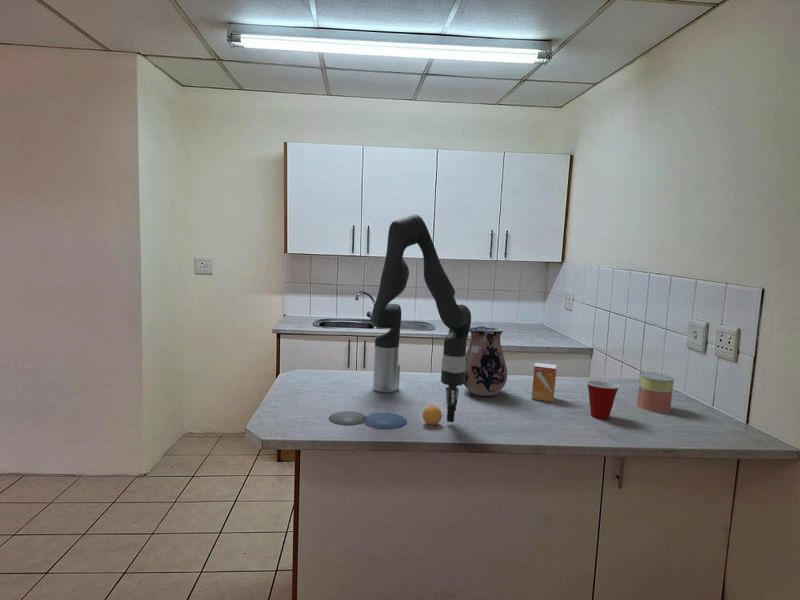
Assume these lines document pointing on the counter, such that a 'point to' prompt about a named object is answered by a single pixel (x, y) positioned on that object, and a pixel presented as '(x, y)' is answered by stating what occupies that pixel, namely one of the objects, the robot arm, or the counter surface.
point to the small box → (544, 382)
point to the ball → (432, 415)
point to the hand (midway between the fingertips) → (450, 421)
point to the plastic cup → (601, 398)
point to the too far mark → (347, 418)
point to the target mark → (385, 420)
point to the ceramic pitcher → (485, 362)
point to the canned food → (655, 392)
